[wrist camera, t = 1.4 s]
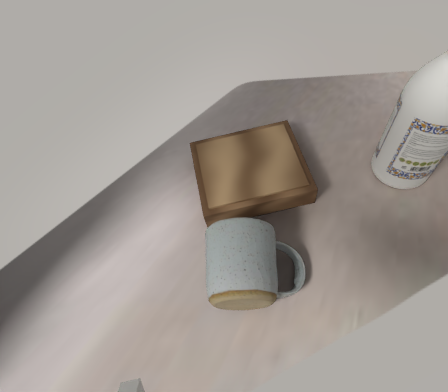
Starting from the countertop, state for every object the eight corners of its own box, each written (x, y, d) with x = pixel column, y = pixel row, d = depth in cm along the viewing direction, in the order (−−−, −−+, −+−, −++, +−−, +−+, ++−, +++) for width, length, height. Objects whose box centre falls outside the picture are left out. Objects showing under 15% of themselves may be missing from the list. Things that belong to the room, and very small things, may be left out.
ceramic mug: (211, 315, 34) (200, 298, 28) (210, 245, 39) (200, 216, 32) (309, 310, 34) (321, 290, 27) (297, 239, 38) (305, 208, 31)
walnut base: (207, 227, 40) (203, 215, 37) (193, 156, 46) (189, 141, 44) (314, 202, 40) (318, 188, 37) (286, 134, 46) (287, 118, 44)
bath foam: (439, 181, 40) (568, 25, 23) (388, 198, 39) (480, 52, 22) (407, 142, 43) (496, -17, 26) (360, 157, 43) (420, 5, 26)
